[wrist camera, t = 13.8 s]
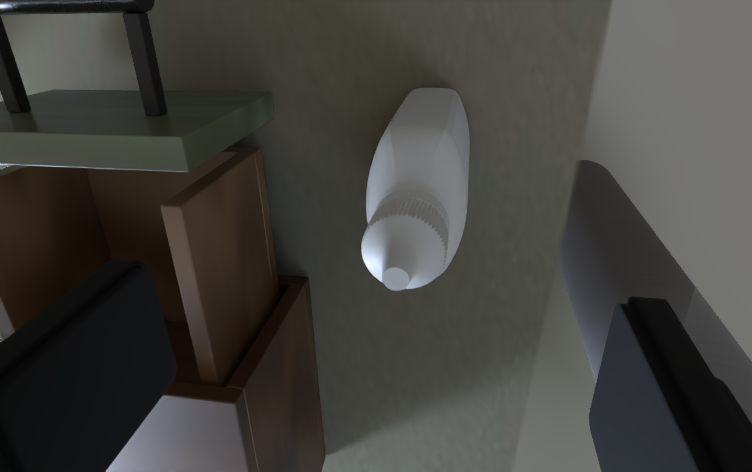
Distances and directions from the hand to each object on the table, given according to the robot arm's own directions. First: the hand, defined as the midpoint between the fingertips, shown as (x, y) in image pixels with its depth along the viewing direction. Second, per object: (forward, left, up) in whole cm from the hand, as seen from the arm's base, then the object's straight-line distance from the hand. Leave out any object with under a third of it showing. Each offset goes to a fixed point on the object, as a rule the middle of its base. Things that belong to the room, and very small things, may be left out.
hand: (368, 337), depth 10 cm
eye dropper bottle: (0, 0, -15) cm, 15 cm away
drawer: (+13, +2, -14) cm, 19 cm away
